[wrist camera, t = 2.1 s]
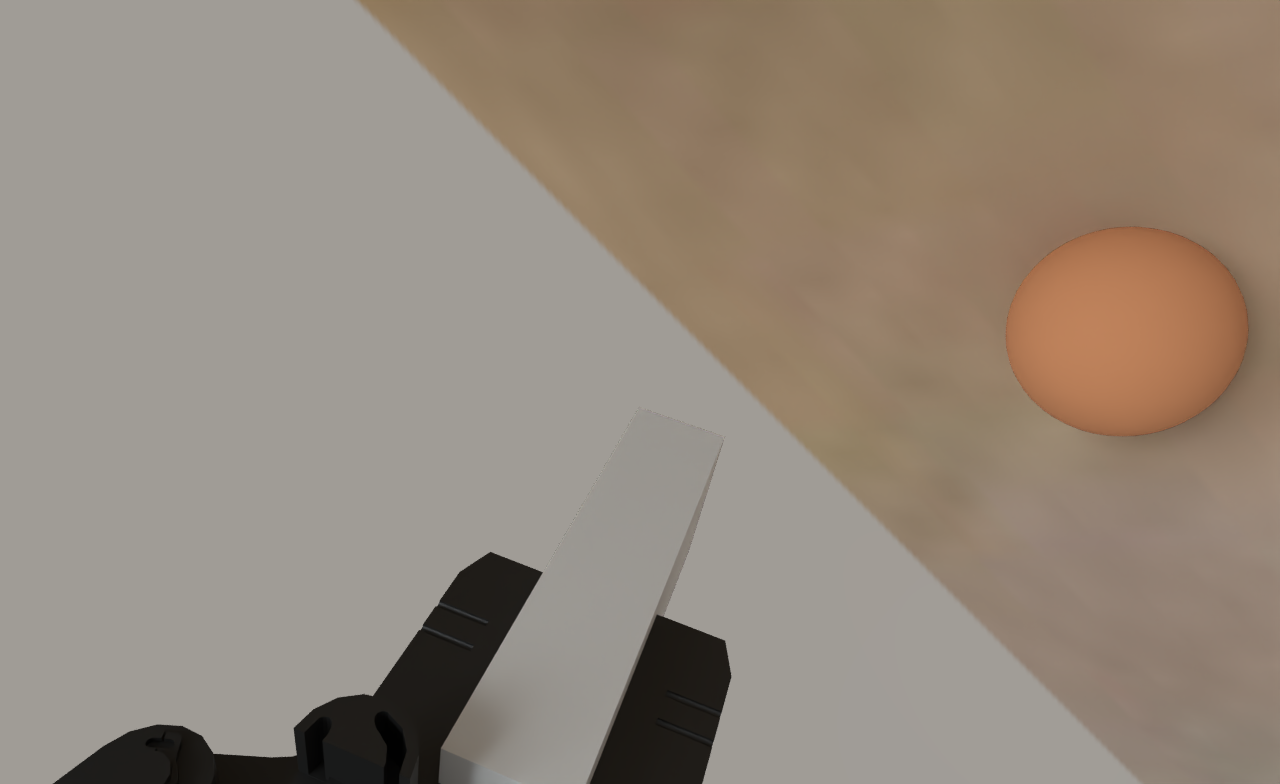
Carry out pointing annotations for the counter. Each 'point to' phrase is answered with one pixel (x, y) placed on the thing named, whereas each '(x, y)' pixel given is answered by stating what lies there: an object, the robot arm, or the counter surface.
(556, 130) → the counter surface
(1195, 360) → the ball
